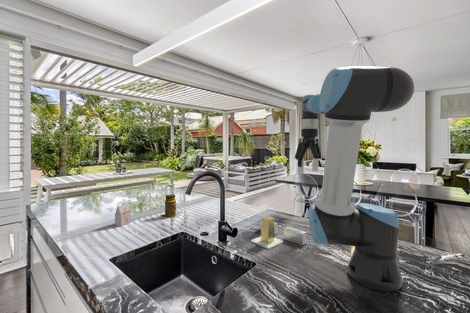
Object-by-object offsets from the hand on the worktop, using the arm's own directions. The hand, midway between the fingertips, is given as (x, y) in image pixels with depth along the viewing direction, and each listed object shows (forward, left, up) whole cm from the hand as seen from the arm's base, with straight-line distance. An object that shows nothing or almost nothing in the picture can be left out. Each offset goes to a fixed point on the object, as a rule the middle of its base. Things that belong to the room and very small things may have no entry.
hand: (308, 172), depth 115 cm
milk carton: (+67, +64, -29) cm, 97 cm away
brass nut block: (+4, +25, -28) cm, 38 cm away
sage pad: (+4, +25, -29) cm, 38 cm away
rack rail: (+4, +15, -29) cm, 33 cm away
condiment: (+64, +40, -29) cm, 81 cm away
